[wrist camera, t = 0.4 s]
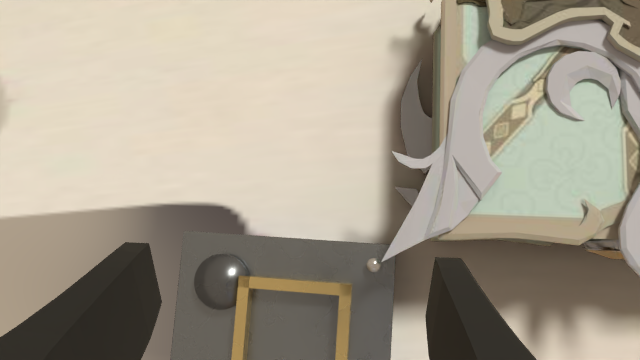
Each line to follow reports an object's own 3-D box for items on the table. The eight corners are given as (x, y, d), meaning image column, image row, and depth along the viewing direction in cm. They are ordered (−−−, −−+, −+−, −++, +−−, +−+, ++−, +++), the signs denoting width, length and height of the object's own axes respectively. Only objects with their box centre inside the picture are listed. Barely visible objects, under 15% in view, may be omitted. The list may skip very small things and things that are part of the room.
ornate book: (769, -7, 39) (384, -5, 42) (897, -89, 30) (390, -79, 33) (794, 285, 36) (377, 267, 39) (945, 298, 27) (381, 272, 30)
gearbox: (387, 407, 37) (387, 426, 33) (182, 384, 40) (159, 400, 35) (395, 245, 39) (396, 245, 35) (198, 232, 41) (177, 230, 37)
